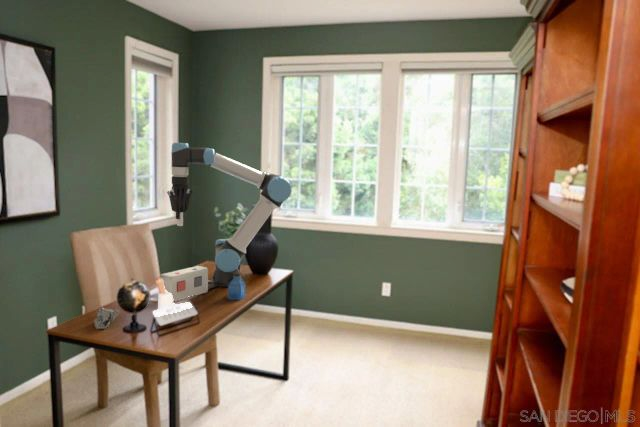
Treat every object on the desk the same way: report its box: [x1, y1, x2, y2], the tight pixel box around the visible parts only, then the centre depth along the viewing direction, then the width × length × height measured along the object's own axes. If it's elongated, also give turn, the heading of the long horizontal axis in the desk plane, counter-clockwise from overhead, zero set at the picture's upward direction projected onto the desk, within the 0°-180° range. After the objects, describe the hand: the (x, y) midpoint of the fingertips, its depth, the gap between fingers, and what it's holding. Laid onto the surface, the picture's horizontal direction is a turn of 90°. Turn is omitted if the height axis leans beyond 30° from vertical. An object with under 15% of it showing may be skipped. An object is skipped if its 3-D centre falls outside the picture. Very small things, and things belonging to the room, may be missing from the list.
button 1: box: [194, 276, 202, 287], centre depth 221 cm, size 4×6×4 cm
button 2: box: [177, 281, 186, 292], centre depth 213 cm, size 4×6×4 cm
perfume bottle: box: [227, 271, 247, 301], centre depth 218 cm, size 6×6×12 cm
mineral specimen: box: [93, 307, 121, 330], centre depth 180 cm, size 10×8×10 cm
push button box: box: [159, 265, 217, 303], centre depth 221 cm, size 30×7×12 cm, turn 145°
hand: (179, 225), depth 220 cm, fingers closed
